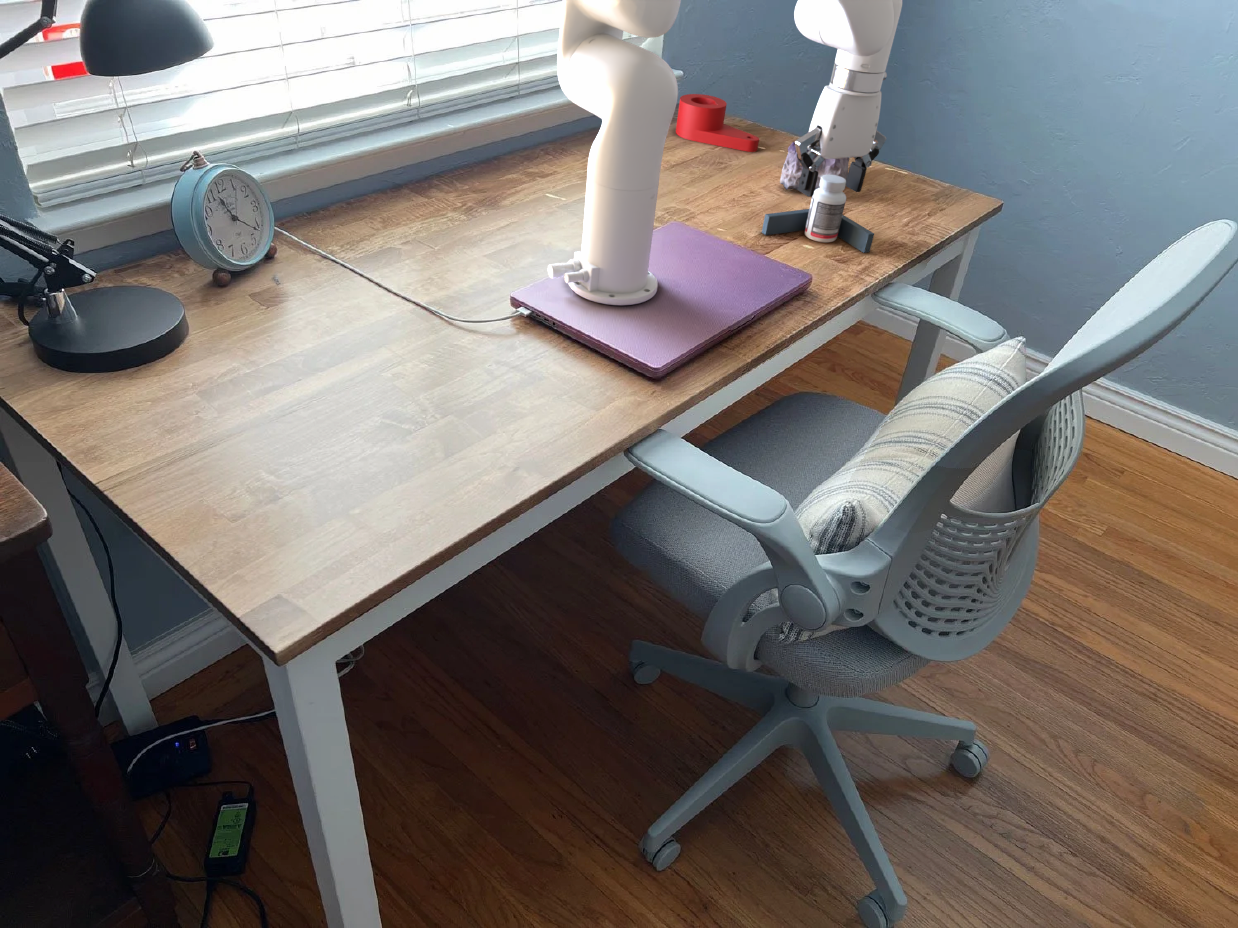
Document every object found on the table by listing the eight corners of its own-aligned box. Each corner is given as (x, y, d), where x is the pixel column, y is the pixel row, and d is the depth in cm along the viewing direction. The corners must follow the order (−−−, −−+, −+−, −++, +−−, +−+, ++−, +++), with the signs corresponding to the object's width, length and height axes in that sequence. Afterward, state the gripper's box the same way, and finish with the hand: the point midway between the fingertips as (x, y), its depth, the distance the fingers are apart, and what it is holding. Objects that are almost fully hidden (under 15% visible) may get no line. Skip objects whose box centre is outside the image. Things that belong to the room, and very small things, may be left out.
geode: (798, 159, 187) (817, 109, 182) (853, 181, 185) (873, 131, 179) (767, 184, 172) (786, 130, 166) (826, 208, 169) (847, 154, 163)
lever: (667, 133, 193) (671, 100, 189) (689, 124, 199) (694, 91, 195) (746, 156, 186) (752, 122, 182) (766, 146, 192) (772, 112, 188)
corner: (804, 262, 147) (808, 243, 145) (761, 232, 155) (764, 214, 153) (869, 252, 153) (874, 233, 151) (824, 224, 161) (829, 206, 159)
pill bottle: (843, 240, 156) (857, 182, 150) (819, 245, 153) (833, 186, 147) (820, 228, 159) (834, 171, 153) (797, 233, 156) (809, 174, 151)
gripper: (883, 72, 148) (855, 179, 158) (795, 74, 140) (771, 187, 150) (916, 85, 143) (885, 196, 153) (827, 88, 135) (800, 204, 145)
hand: (829, 191), depth 151 cm, fingers open, 9 cm apart
